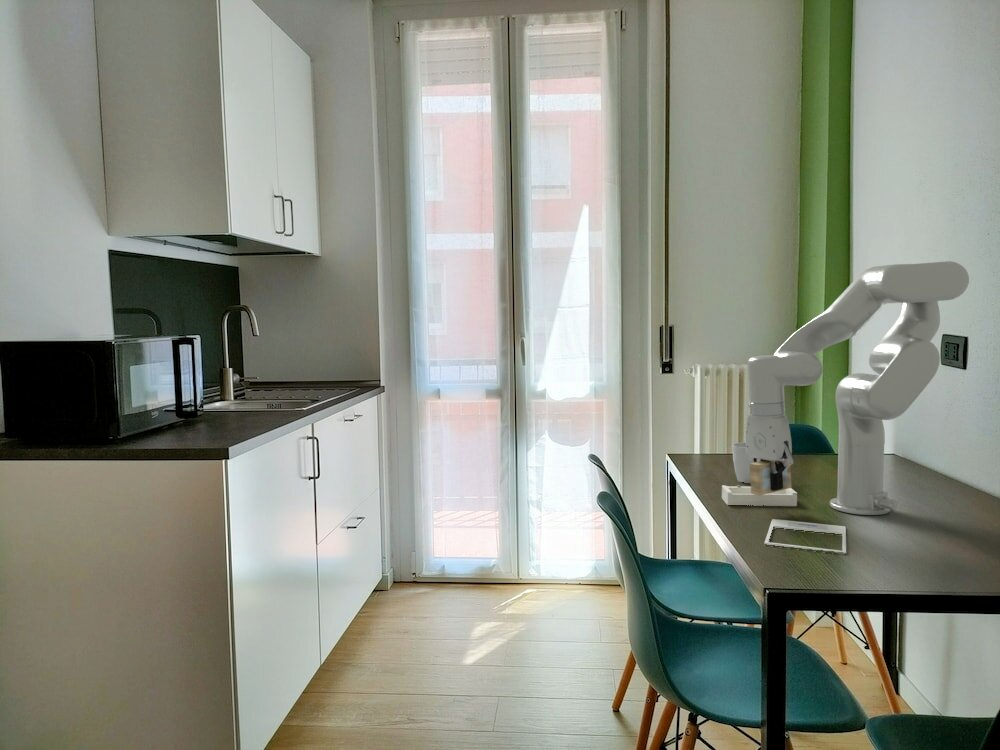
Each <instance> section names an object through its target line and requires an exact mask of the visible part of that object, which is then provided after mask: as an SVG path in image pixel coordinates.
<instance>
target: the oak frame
mask: <svg viewBox="0 0 1000 750" xmlns="http://www.w3.org/2000/svg"><path fill="white" fill-rule="evenodd" d="M776 463H777V465H778V462H776ZM749 465H750V482H751V483H750V487H751V494H755V495H758V496H760V495H764V494H768V493H772V492H776V491H780V490H784V489H788V488H792V472H791V469H792V468H791V465H790V466H787V467H786V468H785V471H784V472H782V475H783V488H782V489H779V490H775V491H773V490H771V481H770V473H772V468H771V461H768V460H764V461H759V462H755V463H750V464H749ZM792 489H793V488H792Z"/></svg>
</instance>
